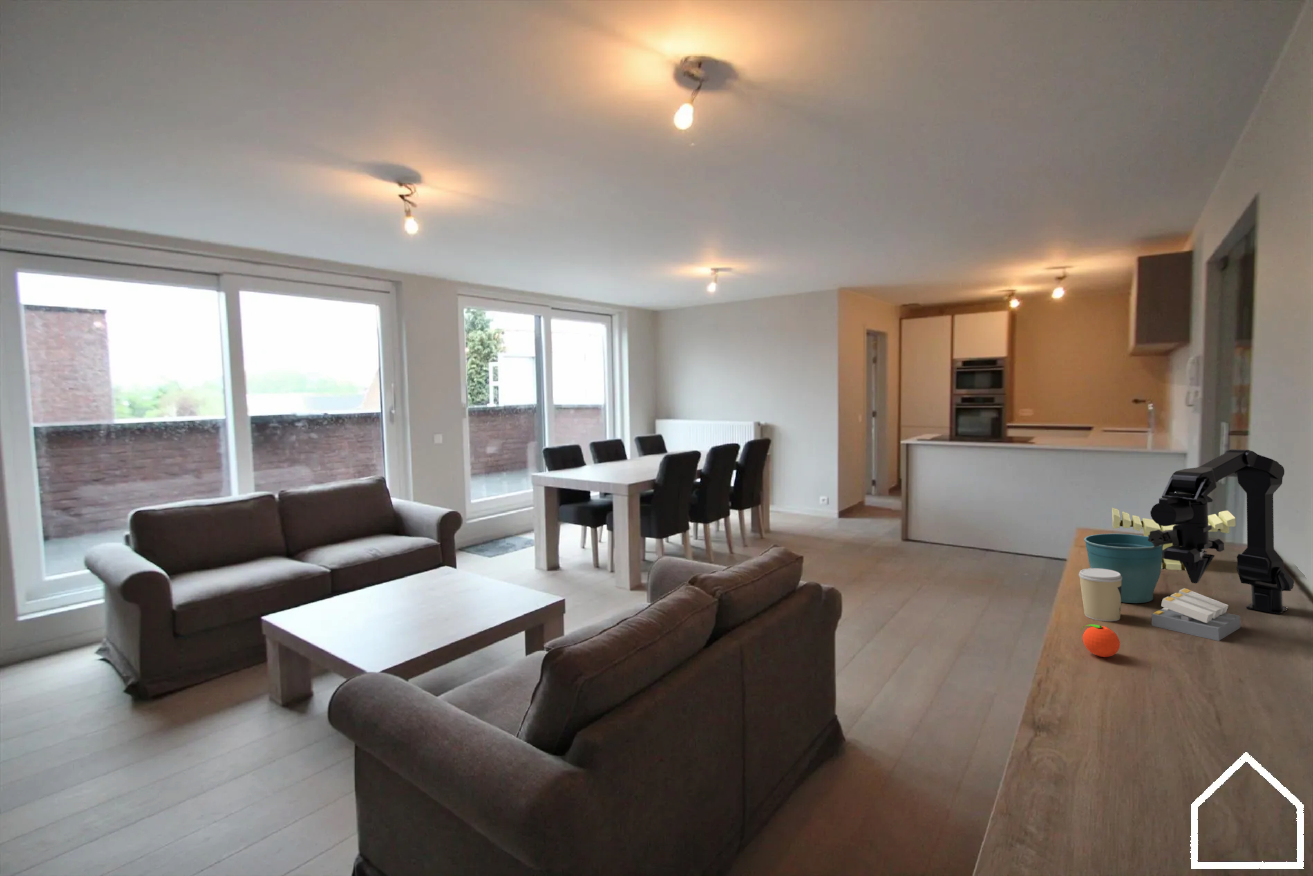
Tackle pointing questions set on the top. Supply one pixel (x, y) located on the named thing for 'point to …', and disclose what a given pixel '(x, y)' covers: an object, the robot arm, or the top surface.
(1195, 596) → the block
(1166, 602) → the block
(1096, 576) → the coffee cup
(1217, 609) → the rocker middle
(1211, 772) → the top surface
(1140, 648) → the top surface
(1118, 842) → the top surface
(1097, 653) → the clementine
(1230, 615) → the console
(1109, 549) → the flower pot
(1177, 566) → the slatted curved stool
